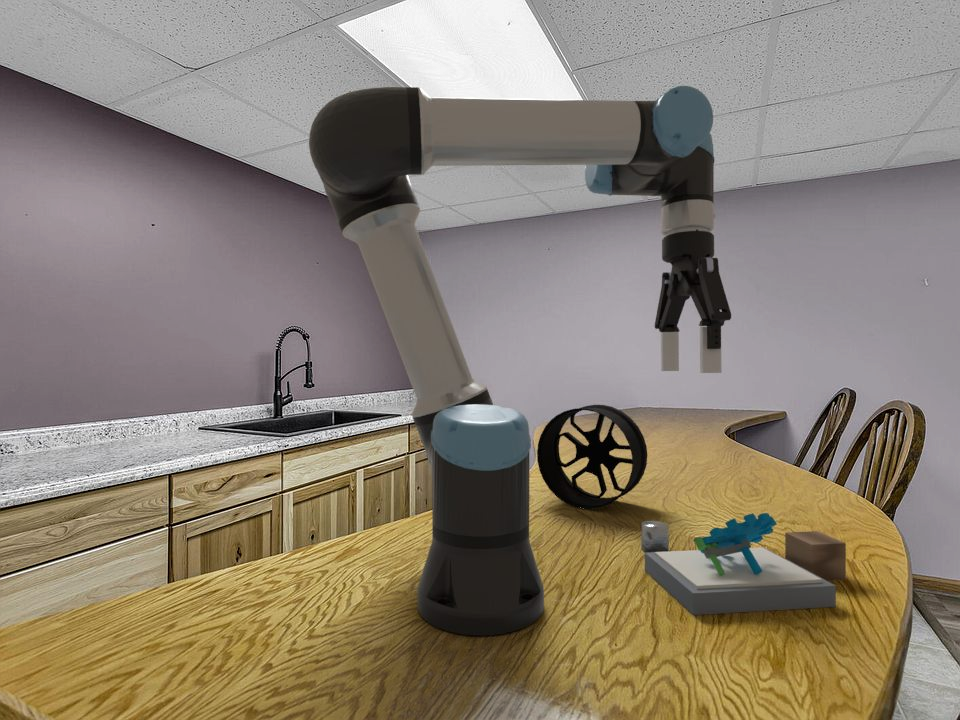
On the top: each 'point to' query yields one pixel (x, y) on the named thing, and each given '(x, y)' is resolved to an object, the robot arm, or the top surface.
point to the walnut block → (817, 554)
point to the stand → (738, 582)
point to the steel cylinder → (654, 536)
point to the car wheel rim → (590, 456)
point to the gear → (736, 539)
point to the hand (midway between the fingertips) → (688, 372)
